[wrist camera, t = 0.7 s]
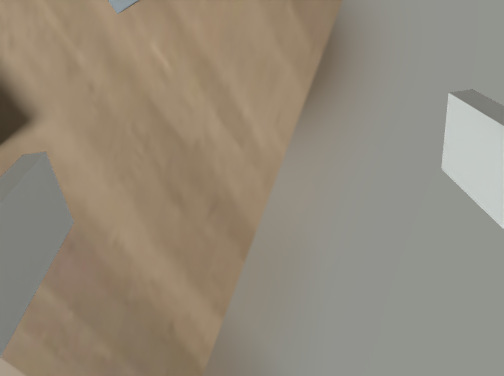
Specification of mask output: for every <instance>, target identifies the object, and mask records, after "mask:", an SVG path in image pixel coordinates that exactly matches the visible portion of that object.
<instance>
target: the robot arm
mask: <svg viewBox="0 0 504 376" xmlns="http://www.w3.org/2000/svg"><path fill="white" fill-rule="evenodd" d="M442 170H443V171H445V173H446V174H447V175H448V176H450V177H451V178H452V179H453V180H454V181H455V182H456V183H457V184H458V185H459V186H460V187H461V188H462V189H463V190H464V191H465V192H466V193H467V194H468V195H469V196H470V197H471V198H472V199H473V200H474V201H475V202H476V203H477V204H478V205H479V206H480V207H481V208H482V209H483V210H485V211H486V212H487V213H488V214H489V215H490V216H491V217H492V218H493V219H494V220H495V221H496V222H497V223H498V224H499V225H500V226H501V227H502V228H503V229H504V106H503V105H501V104H499V103H497V102H495V101H493V100H492V99H490V98H488V97H486V96H484V95H482V94H480V93H479V92H477V91H475V90H473V89H470V90H464V91H457V92H450V93H449V95H448V106H447V117H446V128H445V138H444V149H443V160H442ZM73 223H74V221H73V219H72V216H71V214H70V211H69V209H68V206H67V204H66V201H65V199H64V196H63V194H62V191H61V189H60V186H59V184H58V181H57V179H56V176H55V174H54V171H53V169H52V166H51V163H50V161H49V158H48V156H47V153H46V152H40V153H33V154H27V155H22V156H21V157H20V158H19V159H18V160H17V161H16V162H15V163H14V164H13V165H12V166H11V167H10V168H9V169H8V170H7V171H6V172H5V173H4V174H3V175H2V176H1V177H0V357H1V355H2V353H3V351H4V349H5V348H6V346H7V344H8V342H9V340H10V338H11V337H12V335H13V333H14V331H15V329H16V327H17V326H18V324H19V322H20V320H21V318H22V316H23V315H24V313H25V311H26V309H27V307H28V305H29V304H30V302H31V300H32V298H33V296H34V294H35V293H36V291H37V289H38V287H39V285H40V283H41V282H42V280H43V278H44V276H45V274H46V272H47V271H48V269H49V267H50V265H51V263H52V262H53V260H54V258H55V256H56V254H57V252H58V251H59V249H60V247H61V245H62V243H63V241H64V240H65V238H66V236H67V234H68V232H69V230H70V229H71V227H72V225H73Z"/></svg>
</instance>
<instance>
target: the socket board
mask: <svg viewBox="0 0 504 376" xmlns="http://www.w3.org/2000/svg"><path fill="white" fill-rule="evenodd" d="M108 1H109V2H110V4H111V5H112V7H113V8H114V10H115V11H116V13H117V14H118V13H120V12H122V11H124V10H125V9H127V8H128V7H130V6H131V5H133V4H134V3H136V2H137V1H139V0H108Z"/></svg>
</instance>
